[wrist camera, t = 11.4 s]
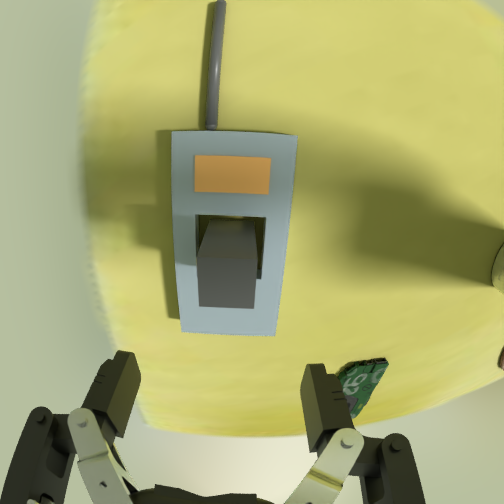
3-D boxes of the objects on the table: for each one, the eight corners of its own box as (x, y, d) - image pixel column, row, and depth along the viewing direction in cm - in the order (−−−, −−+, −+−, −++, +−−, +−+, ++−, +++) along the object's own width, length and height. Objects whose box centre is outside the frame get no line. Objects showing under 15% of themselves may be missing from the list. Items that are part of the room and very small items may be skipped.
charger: (253, 220, 25) (257, 259, 18) (251, 259, 27) (254, 308, 20) (210, 219, 25) (196, 256, 18) (210, 258, 27) (199, 306, 20)
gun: (330, 367, 33) (393, 361, 33) (328, 359, 34) (390, 354, 35) (304, 426, 40) (357, 420, 40) (303, 419, 41) (355, 414, 42)
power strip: (300, 7, 17) (304, -2, 15) (273, 324, 31) (275, 337, 29) (188, 3, 16) (183, -6, 14) (184, 320, 30) (181, 333, 28)
